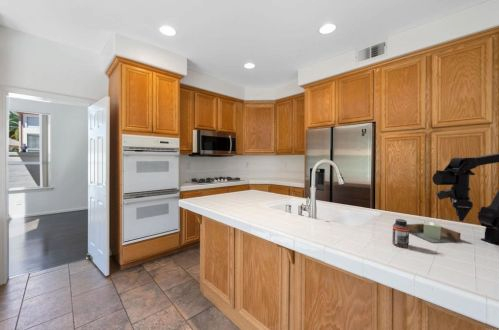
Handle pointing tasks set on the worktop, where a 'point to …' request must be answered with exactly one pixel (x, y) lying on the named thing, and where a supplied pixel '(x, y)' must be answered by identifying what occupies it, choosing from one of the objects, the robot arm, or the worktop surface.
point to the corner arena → (445, 236)
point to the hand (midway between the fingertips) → (459, 218)
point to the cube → (432, 230)
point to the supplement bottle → (400, 233)
